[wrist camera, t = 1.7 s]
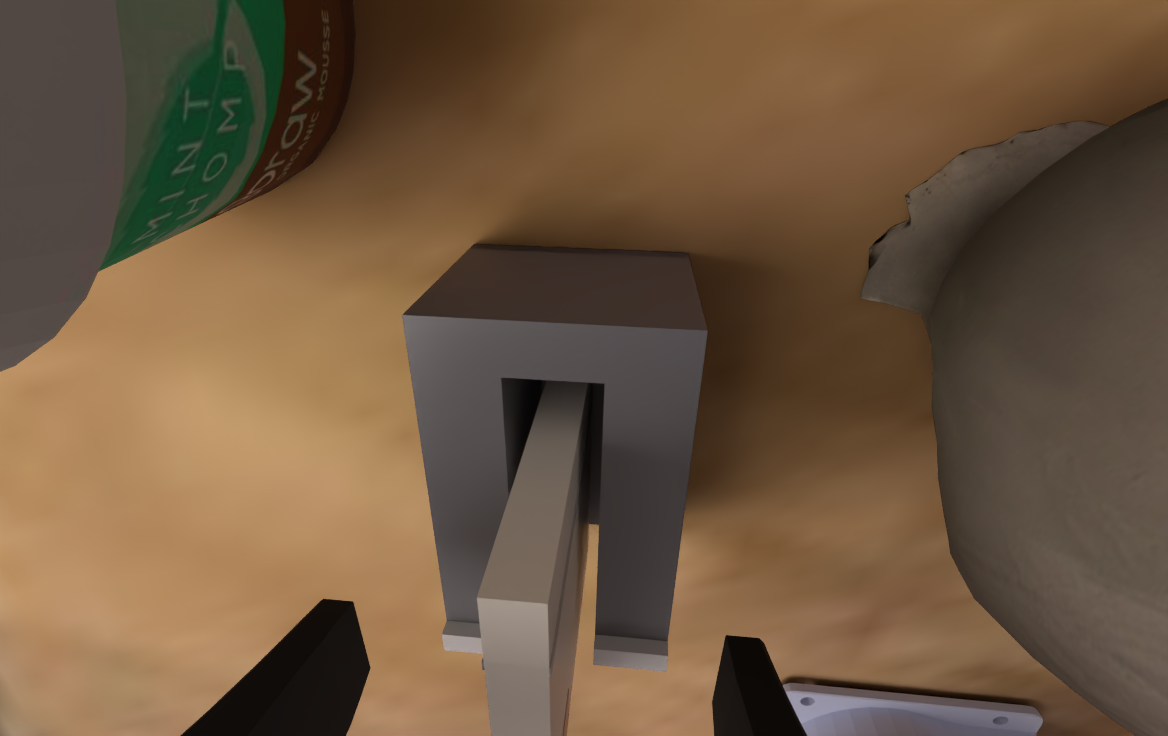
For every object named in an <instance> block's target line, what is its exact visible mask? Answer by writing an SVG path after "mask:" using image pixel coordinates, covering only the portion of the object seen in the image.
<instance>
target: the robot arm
mask: <svg viewBox="0 0 1168 736" xmlns="http://www.w3.org/2000/svg"><path fill="white" fill-rule="evenodd" d="M369 671H370V665H369V661H368V657H367V653H366V649H365V645H364V641H363V638H362V634H361V630H360V626H359V622H358V618H357V615H356V611H355V607H354V603H353V602H352V601H341V600H330V599H323V600H322V601H320V602H319V603H318V604H317V605H316V606H315V607H314V608H313V609H312V610H311V611H310V612H309V613H308V614H307V615H306V616H305V617H304V618H303V619H302V620H301V621H300V622H299V623H298V624H297V625H296V626H295V627H294V628H293V629H292V630H291V631H290V632H289V633H288V634H287V635H286V636H285V637H284V638H283V639H282V640H281V641H280V642H279V643H278V644H277V645H276V646H275V647H274V648H273V649H272V650H271V651H270V652H269V653H268V654H267V655H266V656H265V657H264V658H263V659H262V660H261V661H260V662H259V663H258V664H257V665H256V666H255V667H254V668H253V669H252V670H250V671H249V672H248V673H247V674H246V675H245V676H244V677H243V678H242V679H241V680H240V681H239V682H238V683H237V684H236V685H235V686H234V687H233V688H232V689H231V690H230V691H228V692H227V693H226V694H225V695H224V696H223V697H222V698H221V699H220V700H219V701H218V702H217V703H216V704H215V705H214V706H213V707H212V708H211V709H210V710H208V711H207V712H206V713H205V714H204V715H203V716H202V717H201V718H200V719H199V720H197V721H196V722H195V723H194V724H193V725H192V726H191V727H190V728H189V729H187V730H186V731H185V732H184V733H183V734H182V735H181V736H346V734H347V732H348V730H349V727H350V725H351V722H352V720H353V717H354V714H355V711H356V709H357V706H358V703H359V700H360V697H361V694H362V691H363V689H364V686H365V683H366V680H367V677H368V674H369ZM712 706H713V722H714V736H1037V735H1036V733H1037V731H1038V730H1039V728H1040V727H1041V725H1042V723H1043V719H1042V717H1041V715H1040V714H1039V712H1038V710H1037V709H1035V708H1034V707H1031V706H1026V705H1016V704H1006V703H996V702H985V701H975V700H965V699H955V698H944V697H934V696H924V695H914V694H903V693H893V692H883V691H873V690H862V689H852V688H842V687H832V686H822V685H811V684H801V683H787V684H784V685H782V683H781V681H780V679H779V677H778V674H777V672H776V670H775V668H774V665H773V663H772V661H771V659H770V656H769V654H768V651H767V649H766V647H765V644H764V643H763V642H762V641H761V640H760V639H759V638H751V637H740V636H728V635H726V637H725V642H724V647H723V652H722V656H721V661H720V666H719V671H718V676H717V681H716V686H715V691H714V696H713V701H712Z"/></svg>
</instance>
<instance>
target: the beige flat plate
mask: <svg viewBox="0 0 1168 736" xmlns="http://www.w3.org/2000/svg"><path fill="white" fill-rule="evenodd" d="M592 384H593V383H585V382H568V381H552V380H546V383H545V386H544V389H543V392H542V395H541V398H540V402H539V405H538V408H537V411H536V414H535V417H534V420H533V423H532V427H531V430H530V433H529V436H528V439H527V442H526V445H525V448H524V452H523V455H522V458H521V461H520V464H519V467H518V470H517V474H516V477H515V480H514V483H513V486H512V489H511V492H510V495H509V499H508V502H507V505H506V508H505V511H504V514H503V517H502V520H501V524H500V527H499V530H498V533H497V536H496V539H495V542H494V545H493V549H492V552H491V555H490V558H489V561H488V564H487V567H486V571H485V574H484V577H483V580H482V583H481V586H480V589H479V592H478V596H477V604H478V613H479V623H480V632H481V642H482V651H483V659H482V669H483V670H485V679H486V688H487V698H488V707H489V716H490V726H491V735H492V736H567V727H568V719H569V708H570V699H571V690H572V682H573V673H574V665H575V656H576V647H577V639H578V630H579V622H580V613H581V605H582V596H583V587H584V579H585V570H586V562H587V553H588V538H589V500H590V461H591V423H592V407H593V398H592Z"/></svg>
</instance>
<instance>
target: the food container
mask: <svg viewBox="0 0 1168 736" xmlns="http://www.w3.org/2000/svg"><path fill="white" fill-rule="evenodd" d="M354 52H355V25H354V13H353V2H352V0H0V372H1V371H3V370H6V369H8V368H11V367H13V366H15V365H17V364H18V363H19V362H21V361H22V360H24V359H25V358H26V357H28V356H29V355H30V354H32V353H33V352H35V351H36V350H37V349H39V348H40V347H42V346H43V345H44V344H46V343H47V342H48V341H50V340H51V339H53V338H54V337H55V336H56V334H57V333H58V332H59V331H60V329H61V328H62V327H63V326H64V325H65V323H66V322H67V321H68V320H69V318H70V317H71V316H72V315H73V313H74V312H75V311H76V310H77V308H78V307H79V306H80V305H81V303H82V302H83V301H84V300H85V299H86V297H87V295H88V293H89V290H90V288H91V286H92V284H93V282H94V279H95V277H96V275H97V273H98V271H101V270H103V269H105V268H107V267H109V266H111V265H113V264H116V263H118V262H120V261H122V260H124V259H126V258H128V257H130V256H133V255H135V254H137V253H139V252H141V251H143V250H145V249H148V248H150V247H152V246H154V245H156V244H158V243H160V242H162V241H165V240H167V239H169V238H171V237H173V236H175V235H177V234H180V233H182V232H184V231H186V230H188V229H190V228H192V227H194V226H197V225H199V224H201V223H203V222H205V221H207V220H209V219H212V218H214V217H216V216H218V215H220V214H222V213H224V212H226V211H229V210H231V209H233V208H235V207H237V206H239V205H241V204H244V203H246V202H248V201H250V200H252V199H254V198H256V197H258V196H261V195H263V194H265V193H267V192H269V191H271V190H273V189H274V188H276V187H277V186H279V185H280V184H282V183H283V182H285V181H286V180H288V179H289V178H291V177H292V176H294V175H295V174H297V173H298V172H300V171H301V170H303V169H305V168H306V167H308V166H309V165H311V164H312V163H313V162H314V160H315V159H316V157H317V156H318V154H319V153H320V152H321V150H322V149H323V147H324V146H325V144H326V143H327V141H328V140H329V139H330V137H331V136H332V134H333V133H334V131H335V130H336V128H337V126H338V123H339V120H340V118H341V115H342V113H343V110H344V108H345V105H346V103H347V99H348V94H349V89H350V85H351V80H352V75H353V70H354Z"/></svg>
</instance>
